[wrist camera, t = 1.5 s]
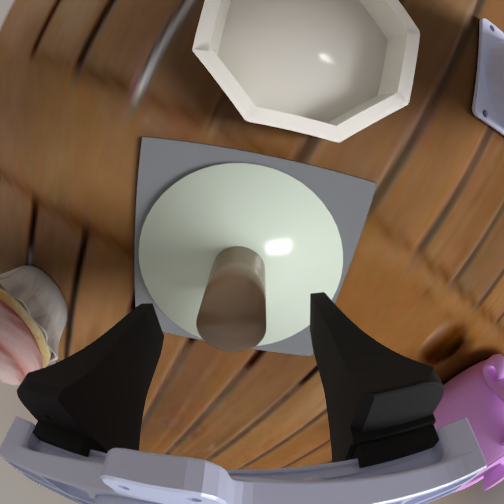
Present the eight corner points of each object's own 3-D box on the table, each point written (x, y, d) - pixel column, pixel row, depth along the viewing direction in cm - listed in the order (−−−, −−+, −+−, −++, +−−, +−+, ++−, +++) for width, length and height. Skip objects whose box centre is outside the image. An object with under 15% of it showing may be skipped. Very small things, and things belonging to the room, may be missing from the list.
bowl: (399, 6, 10) (423, -9, 8) (372, 152, 14) (395, 160, 12) (231, -38, 10) (226, -64, 7) (194, 112, 14) (179, 111, 11)
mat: (374, 181, 15) (376, 183, 15) (310, 352, 21) (311, 356, 20) (144, 136, 14) (142, 137, 14) (138, 322, 20) (136, 325, 20)
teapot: (507, 398, 28) (537, 458, 15) (391, 452, 31) (409, 529, 18) (552, 291, 19) (615, 364, 6) (406, 365, 22) (457, 498, 9)
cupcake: (35, 338, 22) (-13, 409, 13) (-7, 256, 18) (-77, 318, 9) (102, 340, 21) (52, 436, 12) (54, 237, 17) (-39, 320, 8)
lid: (366, 189, 15) (412, 225, 10) (307, 350, 20) (317, 413, 15) (149, 147, 14) (97, 164, 9) (142, 321, 19) (115, 379, 14)
